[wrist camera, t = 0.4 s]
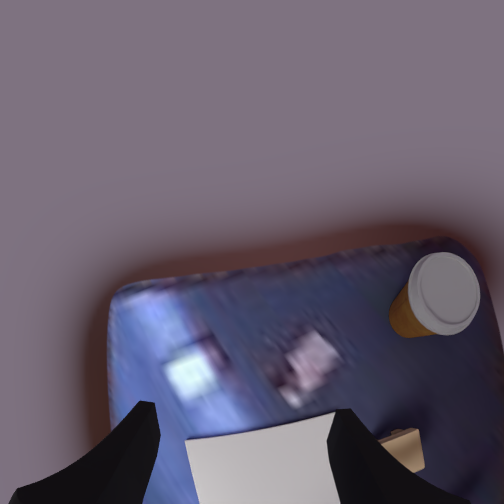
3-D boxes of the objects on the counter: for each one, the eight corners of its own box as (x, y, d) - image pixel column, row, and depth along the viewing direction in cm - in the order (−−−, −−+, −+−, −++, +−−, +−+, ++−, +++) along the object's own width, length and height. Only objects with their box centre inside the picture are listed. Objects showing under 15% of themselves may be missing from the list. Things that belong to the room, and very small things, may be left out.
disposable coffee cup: (444, 299, 41) (488, 269, 30) (424, 359, 38) (472, 345, 27) (391, 272, 43) (425, 234, 32) (367, 332, 40) (401, 310, 29)
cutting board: (354, 509, 30) (355, 511, 29) (211, 536, 29) (210, 538, 28) (334, 411, 36) (335, 412, 35) (186, 439, 35) (184, 440, 34)
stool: (406, 460, 32) (424, 467, 27) (369, 474, 32) (383, 484, 27) (399, 425, 34) (418, 429, 29) (362, 439, 34) (376, 445, 29)
